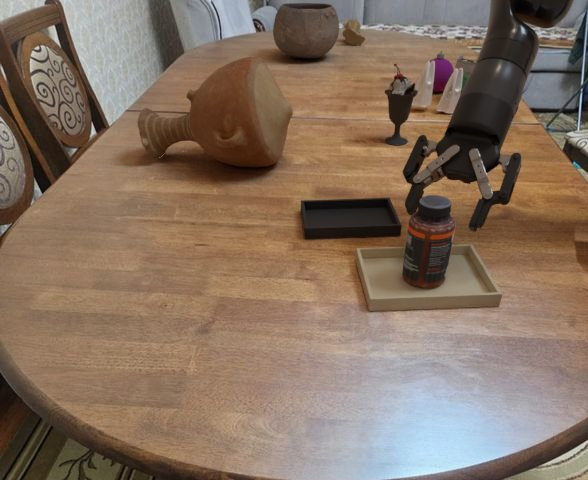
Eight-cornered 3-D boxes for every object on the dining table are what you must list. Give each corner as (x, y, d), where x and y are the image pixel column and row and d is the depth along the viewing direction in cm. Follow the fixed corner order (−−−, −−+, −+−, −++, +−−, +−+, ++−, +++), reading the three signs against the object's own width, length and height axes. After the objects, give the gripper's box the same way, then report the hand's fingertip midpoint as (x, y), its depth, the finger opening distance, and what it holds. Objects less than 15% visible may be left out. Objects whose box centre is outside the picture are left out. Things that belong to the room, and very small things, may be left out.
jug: (278, 126, 90) (112, 140, 96) (300, 186, 108) (159, 194, 114) (285, 25, 94) (126, 44, 101) (305, 99, 112) (169, 111, 119)
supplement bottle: (453, 278, 75) (470, 201, 68) (428, 295, 72) (442, 216, 65) (418, 262, 79) (429, 187, 71) (392, 278, 75) (402, 201, 68)
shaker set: (407, 112, 133) (413, 62, 126) (408, 107, 136) (414, 58, 129) (457, 115, 131) (466, 64, 124) (457, 110, 134) (466, 60, 127)
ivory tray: (469, 255, 81) (472, 243, 80) (499, 306, 71) (502, 294, 70) (355, 259, 80) (356, 247, 79) (369, 311, 70) (370, 299, 69)
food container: (439, 101, 140) (446, 58, 133) (454, 96, 143) (461, 54, 136) (480, 112, 133) (489, 67, 126) (495, 107, 136) (504, 62, 129)
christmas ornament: (422, 86, 151) (427, 45, 144) (452, 88, 149) (459, 47, 142) (417, 94, 145) (422, 52, 138) (448, 96, 143) (455, 54, 136)
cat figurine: (345, 27, 186) (343, 10, 192) (338, 47, 191) (336, 30, 198) (367, 34, 188) (365, 17, 194) (360, 54, 193) (357, 37, 200)
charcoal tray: (388, 208, 93) (389, 197, 92) (400, 236, 85) (401, 225, 84) (300, 210, 93) (300, 200, 91) (304, 239, 85) (304, 228, 84)
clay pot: (269, 52, 184) (267, 0, 175) (329, 49, 187) (331, -3, 178) (279, 67, 169) (278, 11, 159) (345, 64, 171) (347, 8, 162)
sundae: (378, 136, 120) (385, 60, 111) (409, 136, 120) (418, 60, 111) (381, 146, 115) (388, 69, 106) (413, 146, 115) (423, 68, 106)
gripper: (430, 82, 71) (384, 197, 71) (542, 98, 65) (492, 224, 65) (439, 114, 78) (396, 219, 78) (541, 131, 72) (495, 244, 72)
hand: (440, 221), depth 72 cm, fingers open, 8 cm apart
